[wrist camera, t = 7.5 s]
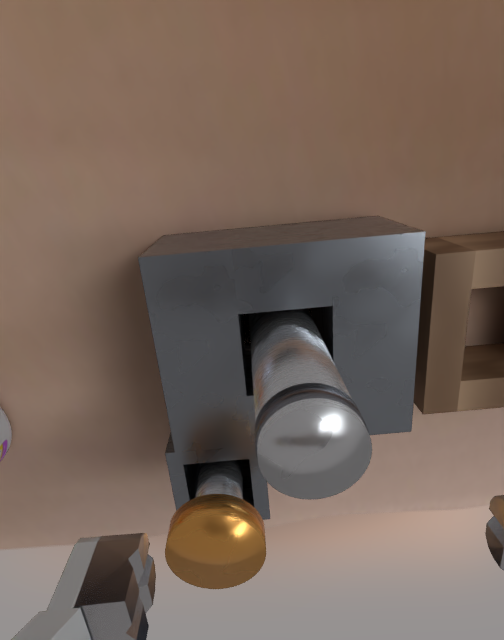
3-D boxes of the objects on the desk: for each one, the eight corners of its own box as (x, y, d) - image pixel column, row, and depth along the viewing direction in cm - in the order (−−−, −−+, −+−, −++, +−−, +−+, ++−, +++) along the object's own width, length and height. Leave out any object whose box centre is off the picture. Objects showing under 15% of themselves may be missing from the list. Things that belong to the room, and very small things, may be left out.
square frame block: (561, 226, 23) (624, 237, 19) (534, 366, 26) (584, 399, 22) (403, 240, 23) (436, 254, 19) (396, 378, 26) (423, 414, 22)
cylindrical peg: (304, 278, 23) (375, 399, 11) (306, 333, 25) (372, 495, 12) (245, 284, 23) (250, 410, 11) (250, 338, 25) (260, 505, 12)
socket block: (378, 215, 22) (425, 231, 16) (371, 437, 27) (406, 506, 22) (154, 235, 22) (126, 258, 17) (191, 453, 27) (179, 526, 22)
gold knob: (256, 422, 22) (262, 511, 17) (262, 483, 24) (269, 584, 18) (178, 429, 22) (157, 520, 17) (189, 490, 24) (173, 592, 18)
